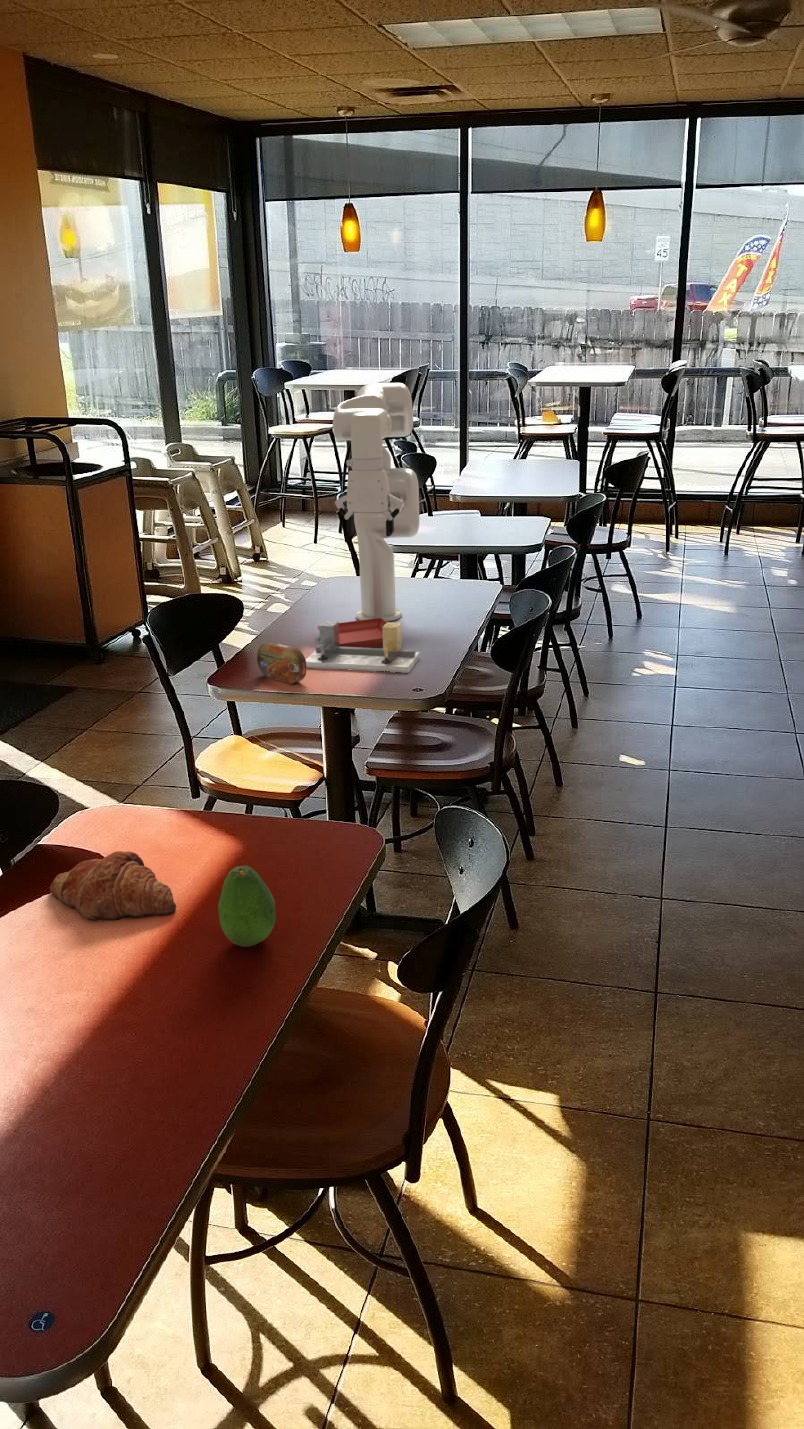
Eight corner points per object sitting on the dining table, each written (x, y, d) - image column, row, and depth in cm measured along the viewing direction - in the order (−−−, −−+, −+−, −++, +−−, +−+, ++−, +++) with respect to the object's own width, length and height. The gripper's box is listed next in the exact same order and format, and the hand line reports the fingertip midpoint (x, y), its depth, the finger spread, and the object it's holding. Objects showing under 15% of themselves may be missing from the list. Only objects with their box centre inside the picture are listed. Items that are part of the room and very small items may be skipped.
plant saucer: (335, 656, 286) (334, 643, 285) (316, 637, 302) (316, 625, 301) (403, 647, 291) (403, 634, 290) (382, 629, 307) (381, 617, 306)
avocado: (211, 952, 158) (203, 875, 154) (238, 924, 165) (231, 849, 160) (262, 962, 155) (256, 884, 151) (288, 933, 162) (283, 858, 158)
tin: (257, 675, 273) (254, 641, 270) (267, 671, 275) (264, 638, 272) (299, 687, 263) (297, 652, 260) (309, 684, 265) (307, 649, 262)
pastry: (59, 940, 162) (52, 890, 160) (50, 891, 176) (42, 845, 173) (178, 915, 168) (172, 867, 165) (159, 870, 181) (154, 824, 179)
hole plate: (319, 653, 287) (317, 619, 284) (419, 657, 281) (418, 623, 278) (303, 667, 276) (301, 633, 273) (408, 673, 270) (407, 637, 267)
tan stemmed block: (388, 649, 282) (387, 622, 279) (402, 650, 281) (401, 622, 278) (378, 660, 274) (377, 632, 271) (393, 660, 273) (392, 632, 270)
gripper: (328, 467, 275) (332, 537, 281) (398, 467, 271) (400, 539, 277) (338, 462, 282) (341, 531, 288) (406, 463, 278) (408, 532, 284)
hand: (370, 535), depth 283 cm, fingers open, 9 cm apart
